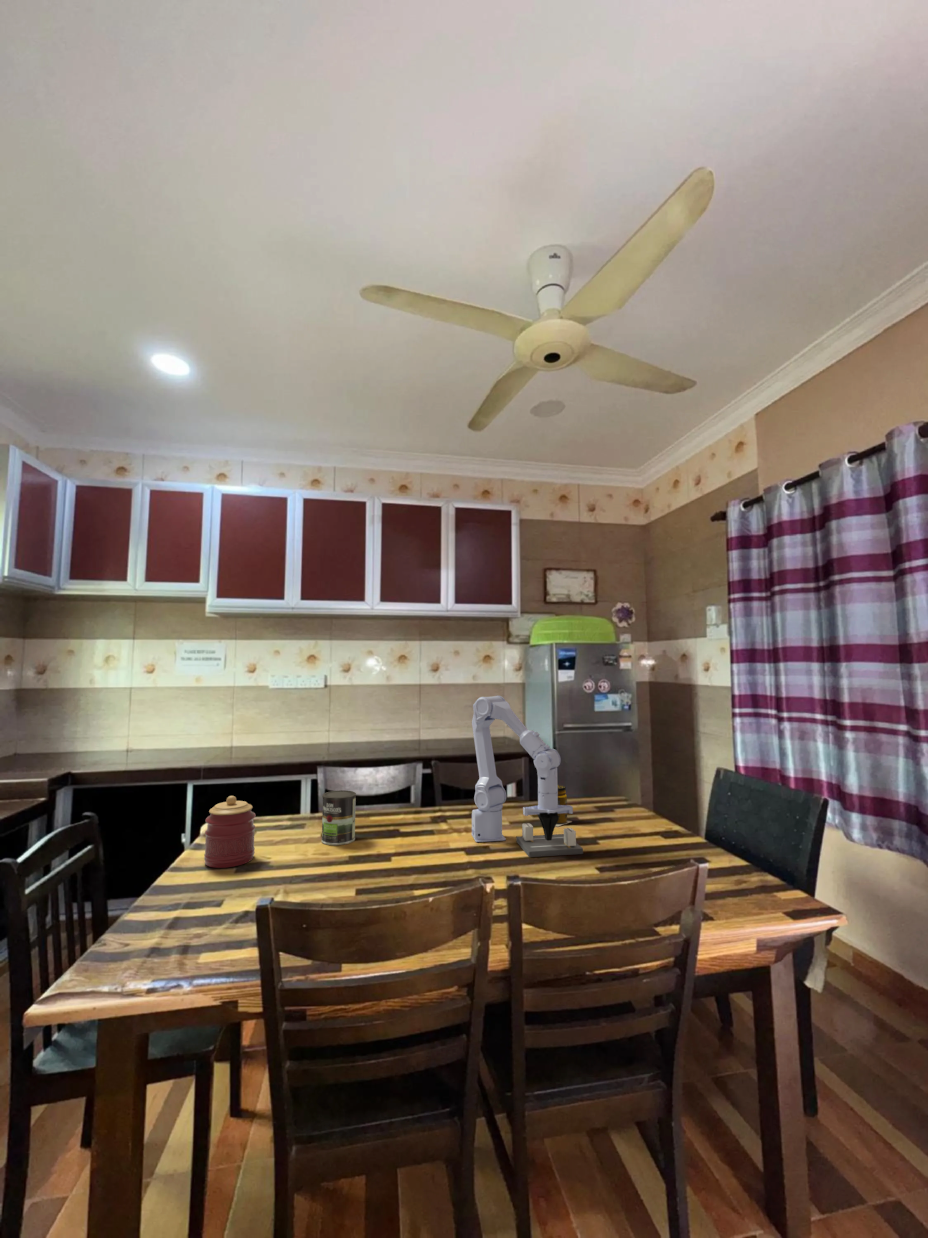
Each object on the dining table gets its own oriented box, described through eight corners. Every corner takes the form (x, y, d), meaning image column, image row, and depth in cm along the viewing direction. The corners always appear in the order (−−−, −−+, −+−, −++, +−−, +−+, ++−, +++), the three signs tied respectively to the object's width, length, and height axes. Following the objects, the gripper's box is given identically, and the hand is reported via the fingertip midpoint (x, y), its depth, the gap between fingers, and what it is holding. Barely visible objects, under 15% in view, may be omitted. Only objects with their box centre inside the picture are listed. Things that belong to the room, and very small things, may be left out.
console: (529, 857, 156) (529, 851, 157) (516, 841, 170) (516, 836, 170) (583, 854, 159) (582, 848, 159) (566, 838, 173) (566, 833, 173)
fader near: (568, 846, 160) (567, 831, 161) (563, 842, 164) (563, 828, 164) (576, 845, 161) (575, 831, 161) (571, 842, 164) (571, 827, 164)
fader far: (525, 840, 165) (525, 826, 166) (522, 837, 169) (522, 823, 169) (533, 840, 166) (533, 826, 166) (529, 836, 169) (529, 823, 170)
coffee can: (343, 847, 166) (343, 799, 167) (314, 843, 169) (315, 796, 171) (361, 837, 175) (362, 791, 176) (334, 833, 179) (335, 789, 180)
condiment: (572, 822, 191) (571, 786, 192) (557, 827, 185) (557, 790, 186) (555, 818, 197) (554, 783, 198) (540, 822, 191) (539, 787, 192)
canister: (243, 849, 164) (244, 788, 165) (262, 860, 155) (264, 795, 156) (196, 860, 155) (199, 796, 156) (214, 873, 146) (216, 804, 147)
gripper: (527, 796, 158) (527, 845, 157) (576, 794, 160) (576, 842, 159) (521, 790, 165) (521, 837, 164) (567, 788, 167) (568, 835, 166)
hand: (548, 839), depth 162 cm, fingers closed
